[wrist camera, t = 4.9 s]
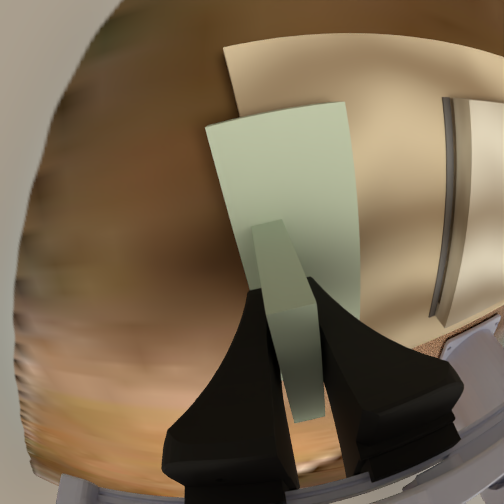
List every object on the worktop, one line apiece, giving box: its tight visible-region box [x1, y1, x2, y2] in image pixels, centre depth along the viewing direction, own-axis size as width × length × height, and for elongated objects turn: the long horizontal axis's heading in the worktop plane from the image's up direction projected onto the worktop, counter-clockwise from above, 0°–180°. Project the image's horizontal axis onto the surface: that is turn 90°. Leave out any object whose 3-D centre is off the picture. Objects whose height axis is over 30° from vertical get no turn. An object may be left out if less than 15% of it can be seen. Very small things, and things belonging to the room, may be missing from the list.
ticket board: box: [223, 33, 504, 349], centre depth 13 cm, size 20×20×3 cm
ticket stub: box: [205, 101, 360, 423], centre depth 11 cm, size 14×5×6 cm, turn 12°
